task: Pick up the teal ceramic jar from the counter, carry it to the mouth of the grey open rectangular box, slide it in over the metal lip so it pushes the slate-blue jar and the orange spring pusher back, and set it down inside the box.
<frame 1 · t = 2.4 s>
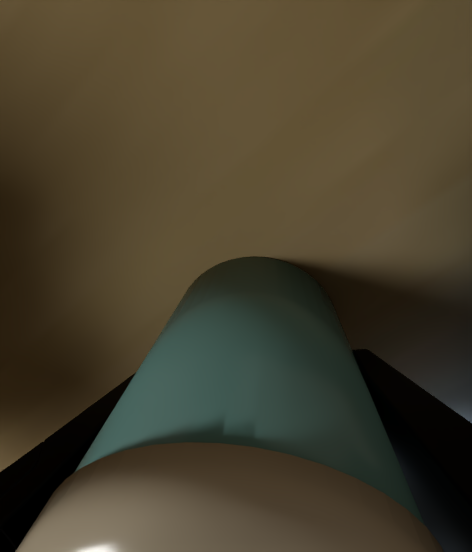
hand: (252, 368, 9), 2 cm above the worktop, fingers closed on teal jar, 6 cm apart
teal jar: (255, 331, 11), on the worktop, touching gripper
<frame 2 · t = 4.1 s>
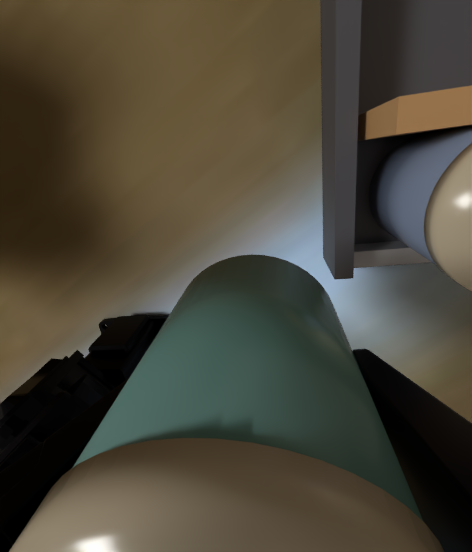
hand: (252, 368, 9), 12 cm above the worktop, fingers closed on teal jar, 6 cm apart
slate jar: (423, 188, 17), point 1 cm above the worktop, touching grey open rectangular box, pusher
pusher: (468, 110, 12), point 4 cm above the worktop, slide at 6.0 cm, touching slate jar
teal jar: (254, 330, 11), point 10 cm above the worktop, touching gripper
grey open rectangular box: (432, 34, 15), on the worktop
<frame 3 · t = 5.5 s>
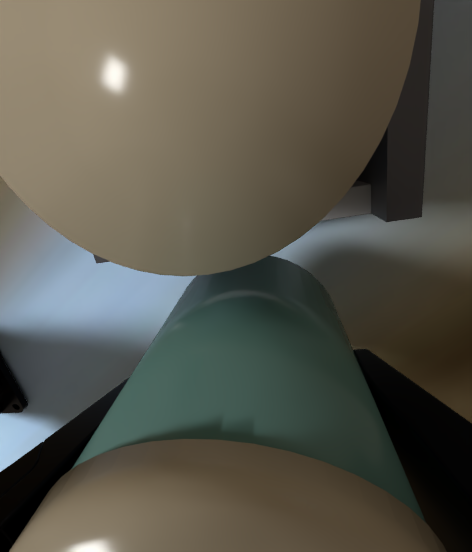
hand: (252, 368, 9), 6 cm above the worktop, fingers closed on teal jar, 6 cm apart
slate jar: (233, 119, 11), point 1 cm above the worktop, touching grey open rectangular box, pusher
teal jar: (254, 330, 11), point 4 cm above the worktop, touching gripper
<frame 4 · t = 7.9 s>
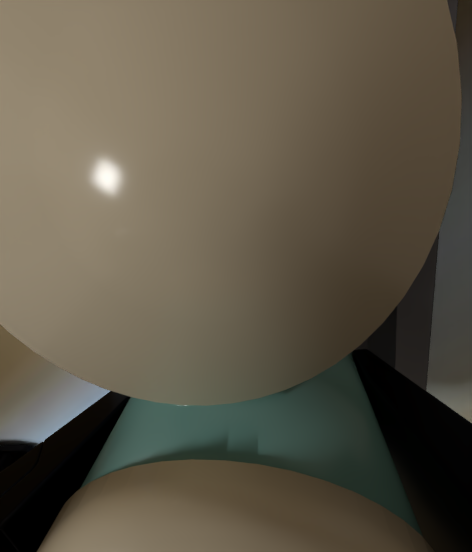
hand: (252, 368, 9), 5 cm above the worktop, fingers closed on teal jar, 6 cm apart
slate jar: (234, 166, 11), point 1 cm above the worktop, touching pusher, teal jar
teal jar: (256, 333, 11), point 3 cm above the worktop, touching gripper, slate jar
grey open rectangular box: (235, 153, 11), on the worktop
when the fingers open (4 cm above the worktop, at t = 9.0 s): teal jar stays where it is, resting on grey open rectangular box, slate jar.
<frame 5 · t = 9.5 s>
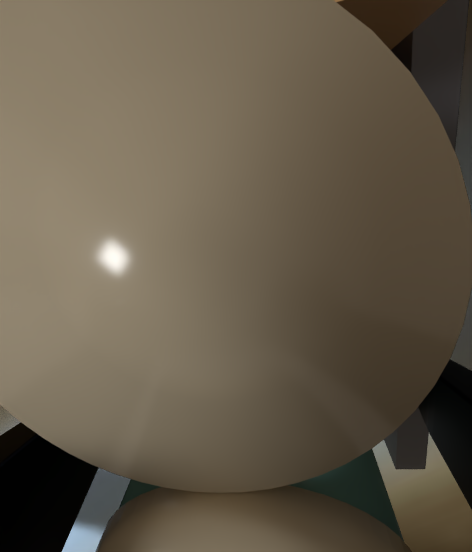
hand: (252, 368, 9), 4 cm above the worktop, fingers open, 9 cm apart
slate jar: (238, 204, 11), point 1 cm above the worktop, touching grey open rectangular box, pusher, teal jar
pusher: (196, 63, 6), point 4 cm above the worktop, slide at 12.0 cm, touching slate jar
teal jar: (260, 350, 12), point 1 cm above the worktop, touching grey open rectangular box, slate jar
grey open rectangular box: (234, 161, 11), on the worktop
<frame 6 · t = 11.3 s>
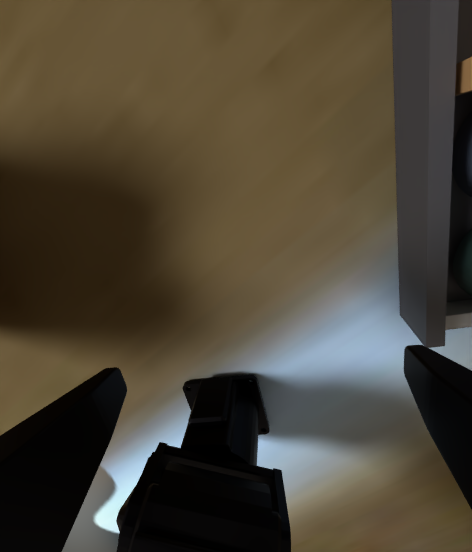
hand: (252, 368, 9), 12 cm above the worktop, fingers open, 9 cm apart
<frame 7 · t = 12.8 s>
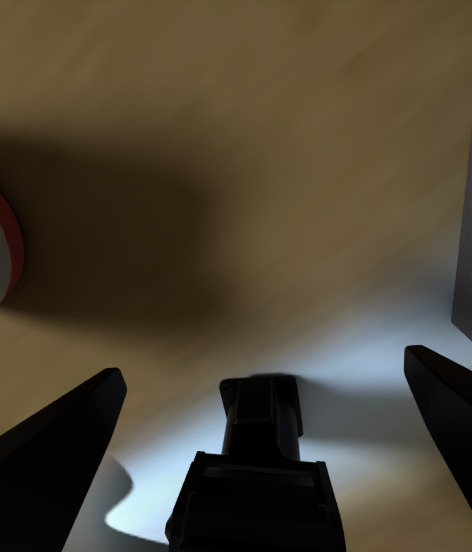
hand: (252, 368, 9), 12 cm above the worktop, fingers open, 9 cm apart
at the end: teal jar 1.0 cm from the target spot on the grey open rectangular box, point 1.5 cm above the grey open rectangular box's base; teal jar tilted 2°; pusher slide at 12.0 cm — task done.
